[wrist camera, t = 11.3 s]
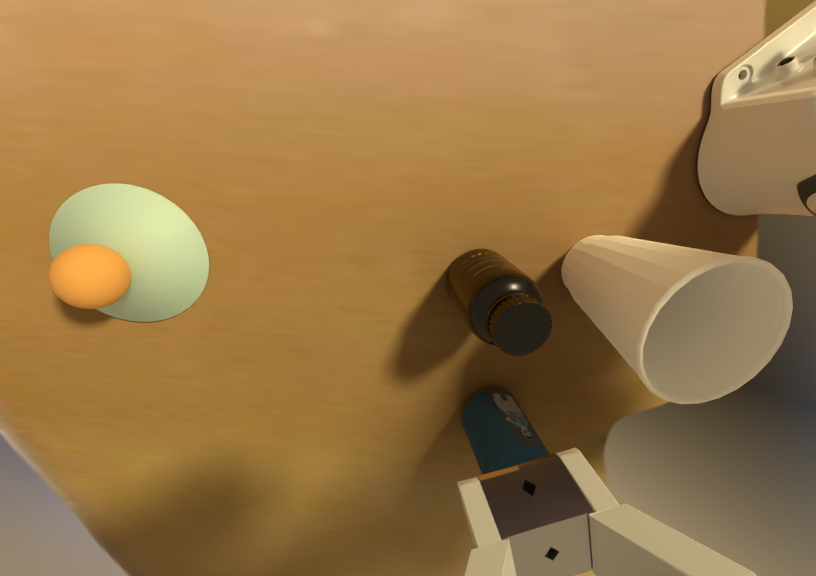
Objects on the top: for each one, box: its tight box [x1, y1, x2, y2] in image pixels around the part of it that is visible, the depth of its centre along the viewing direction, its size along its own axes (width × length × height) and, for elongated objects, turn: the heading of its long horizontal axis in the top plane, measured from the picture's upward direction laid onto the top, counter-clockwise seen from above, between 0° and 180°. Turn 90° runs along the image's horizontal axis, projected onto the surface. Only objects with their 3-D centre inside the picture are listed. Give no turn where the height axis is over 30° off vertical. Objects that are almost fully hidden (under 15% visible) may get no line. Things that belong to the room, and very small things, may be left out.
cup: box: [561, 235, 793, 404], centre depth 36 cm, size 12×12×16 cm
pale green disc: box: [49, 183, 209, 322], centre depth 36 cm, size 13×13×1 cm
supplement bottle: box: [447, 249, 552, 356], centre depth 36 cm, size 7×7×12 cm
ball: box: [48, 244, 131, 309], centre depth 34 cm, size 6×6×6 cm
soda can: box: [462, 389, 550, 475], centre depth 43 cm, size 7×7×12 cm
